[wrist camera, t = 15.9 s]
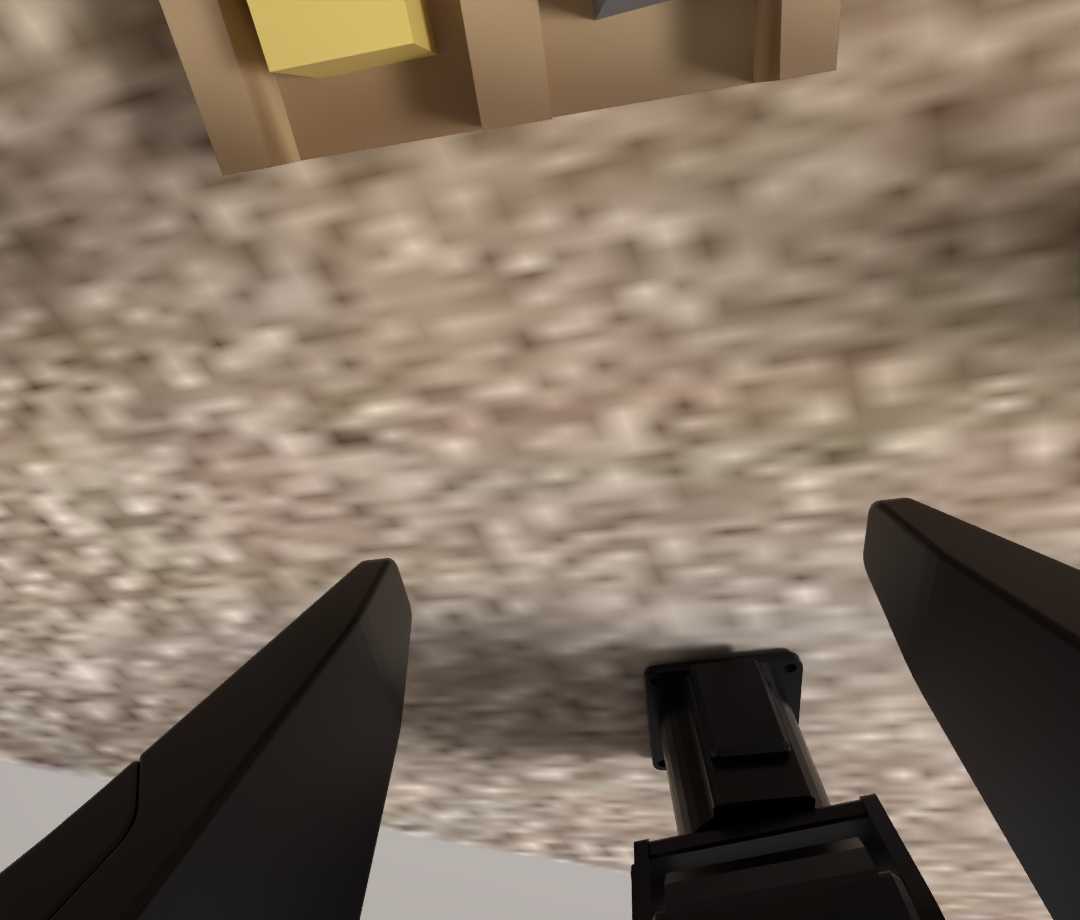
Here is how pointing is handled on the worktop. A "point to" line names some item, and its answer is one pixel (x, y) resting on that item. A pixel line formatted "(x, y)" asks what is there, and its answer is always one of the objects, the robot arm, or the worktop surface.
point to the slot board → (486, 70)
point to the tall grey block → (619, 6)
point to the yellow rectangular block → (341, 34)
